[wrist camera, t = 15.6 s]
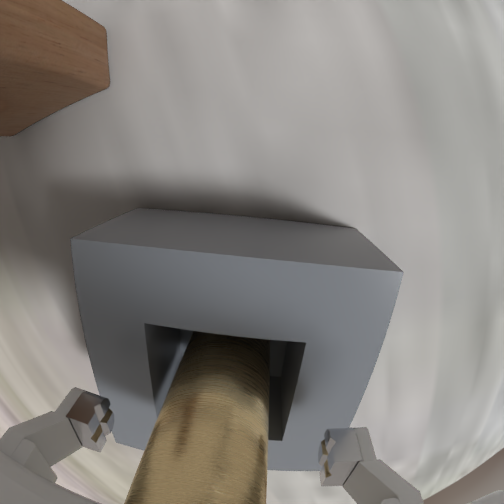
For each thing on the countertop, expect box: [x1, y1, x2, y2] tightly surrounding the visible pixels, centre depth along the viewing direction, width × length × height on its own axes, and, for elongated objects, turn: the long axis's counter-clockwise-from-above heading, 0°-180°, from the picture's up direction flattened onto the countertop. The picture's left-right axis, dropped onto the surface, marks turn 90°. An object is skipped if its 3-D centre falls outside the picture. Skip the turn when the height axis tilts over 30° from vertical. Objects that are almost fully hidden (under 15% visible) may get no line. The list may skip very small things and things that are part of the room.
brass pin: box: [124, 331, 270, 504], centre depth 11 cm, size 4×4×12 cm
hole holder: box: [71, 208, 403, 471], centre depth 15 cm, size 12×12×6 cm
